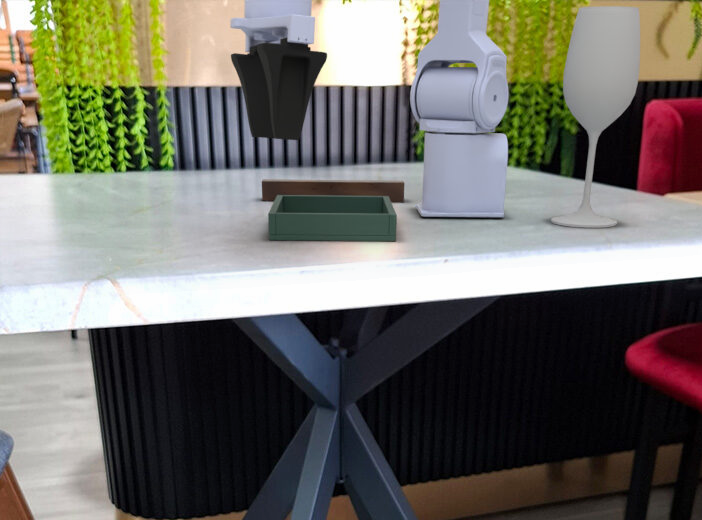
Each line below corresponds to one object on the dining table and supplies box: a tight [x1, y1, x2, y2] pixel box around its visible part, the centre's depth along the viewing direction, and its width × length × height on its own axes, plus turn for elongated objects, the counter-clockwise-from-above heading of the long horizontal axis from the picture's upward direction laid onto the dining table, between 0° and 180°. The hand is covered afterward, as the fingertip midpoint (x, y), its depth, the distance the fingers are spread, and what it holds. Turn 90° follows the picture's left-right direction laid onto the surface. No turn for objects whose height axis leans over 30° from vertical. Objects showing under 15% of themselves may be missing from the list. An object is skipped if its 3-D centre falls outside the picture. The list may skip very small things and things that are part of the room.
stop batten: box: [261, 178, 405, 203], centre depth 114 cm, size 18×2×2 cm, turn 91°
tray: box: [267, 195, 398, 242], centre depth 93 cm, size 12×14×2 cm
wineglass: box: [550, 5, 641, 229], centre depth 95 cm, size 8×8×21 cm
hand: (274, 138), depth 80 cm, fingers open, 7 cm apart
